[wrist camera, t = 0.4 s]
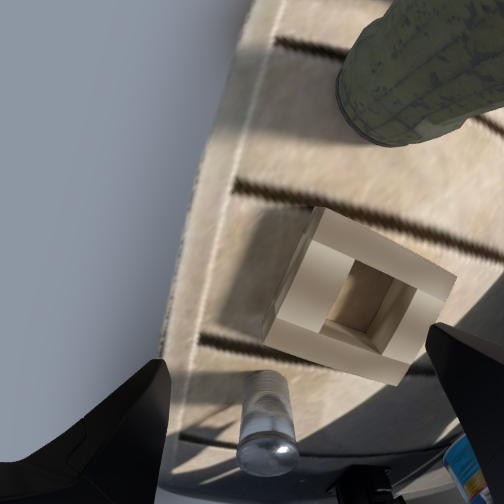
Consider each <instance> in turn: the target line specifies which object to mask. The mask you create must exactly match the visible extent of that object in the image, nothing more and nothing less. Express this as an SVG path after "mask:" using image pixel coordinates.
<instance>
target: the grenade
mask: <svg viewBox="0 0 504 504" xmlns="http://www.w3.org/2000/svg"><path fill="white" fill-rule="evenodd" d="M336 97H337V101H338V105H339V108H340V110H341V112H342V114H343V115H344V117H345V119H346V120H347V122H348V124H349V125H350V126H351V127H352V128H353V129H355V130H356V131H357V132H358V133H359V134H360V135H361V136H362V137H364V138H366V139H367V140H369V141H371V142H373V143H374V144H377V145H382V146H386V147H390V148H391V147H401V146H406V145H408V144H416V143H422V142H425V141H428V140H431V139H435V138H438V137H441V136H443V135H445V134H447V133H450V132H452V131H454V130H456V129H459V128H460V127H461V126H462V125H463V124H464V122H465V121H466V120H467V119H468V118H471V117H474V116H477V115H480V114H483V113H486V112H489V111H492V110H496V109H499V108H502V107H504V0H394V2H393V3H392V5H391V6H390V7H389V9H388V10H387V12H386V13H385V14H384V16H383V17H381V18H379V19H376V20H374V21H373V22H372V23H370V24H369V25H368V26H367V27H365V28H364V29H363V31H362V32H361V34H360V35H359V37H358V39H357V40H356V42H355V43H354V45H353V47H352V48H351V50H350V51H349V53H348V55H347V57H346V59H345V62H344V64H343V66H342V68H341V70H340V72H339V75H338V77H337V79H336Z"/></svg>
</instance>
